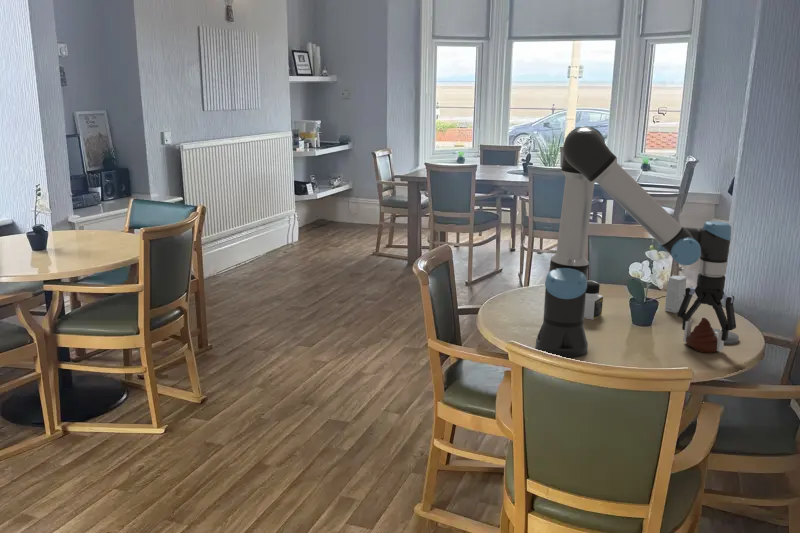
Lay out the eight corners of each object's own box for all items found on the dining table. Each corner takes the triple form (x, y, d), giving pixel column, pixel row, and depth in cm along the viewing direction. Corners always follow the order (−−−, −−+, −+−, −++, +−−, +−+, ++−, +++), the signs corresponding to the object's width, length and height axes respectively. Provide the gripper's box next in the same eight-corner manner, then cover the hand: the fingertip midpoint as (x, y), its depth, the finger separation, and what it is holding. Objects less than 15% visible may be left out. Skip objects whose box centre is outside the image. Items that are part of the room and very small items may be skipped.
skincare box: (676, 313, 243) (679, 280, 240) (663, 310, 246) (667, 277, 243) (683, 309, 247) (687, 277, 244) (671, 307, 250) (675, 274, 247)
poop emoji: (679, 343, 215) (683, 314, 212) (703, 341, 217) (707, 312, 214) (700, 355, 205) (704, 325, 203) (725, 352, 207) (729, 322, 205)
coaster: (728, 347, 212) (729, 343, 212) (693, 337, 220) (694, 333, 220) (744, 338, 219) (744, 335, 219) (710, 329, 227) (710, 326, 227)
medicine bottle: (593, 320, 235) (596, 286, 232) (573, 316, 239) (576, 282, 236) (601, 315, 240) (604, 281, 237) (582, 311, 245) (584, 278, 242)
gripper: (756, 279, 200) (745, 352, 206) (682, 264, 216) (674, 332, 222) (744, 284, 195) (734, 358, 201) (670, 268, 211) (662, 338, 217)
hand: (702, 345), depth 211 cm, fingers closed on poop emoji, 10 cm apart
